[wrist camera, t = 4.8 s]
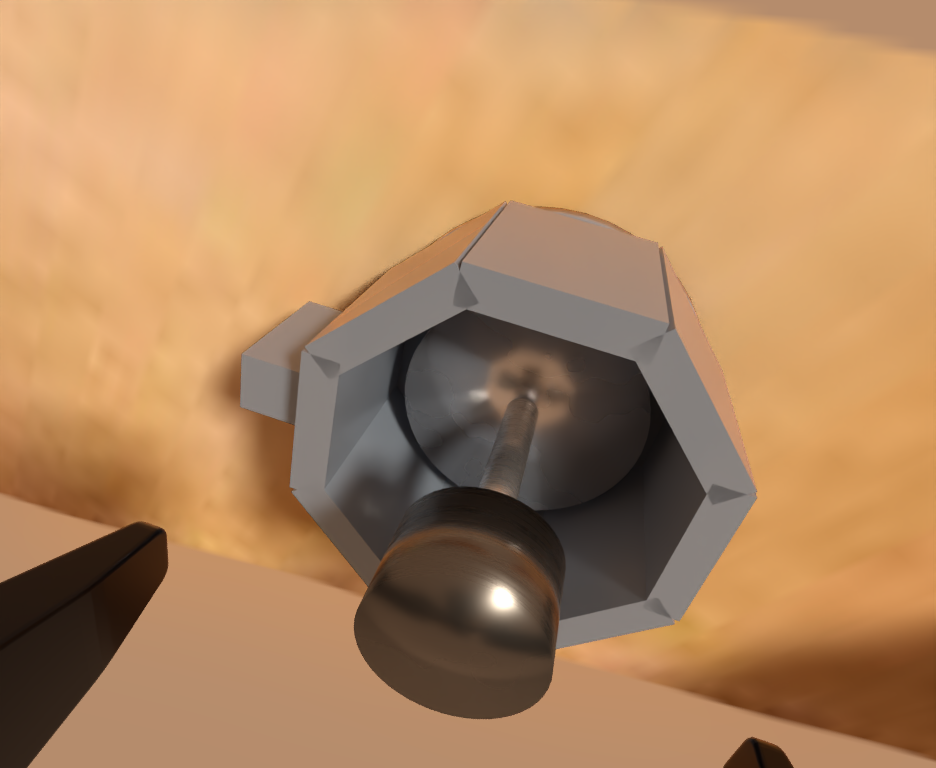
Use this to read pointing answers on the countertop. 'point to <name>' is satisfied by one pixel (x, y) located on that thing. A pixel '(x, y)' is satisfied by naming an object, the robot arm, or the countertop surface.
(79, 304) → the countertop surface
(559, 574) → the plunger
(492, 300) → the press pot
